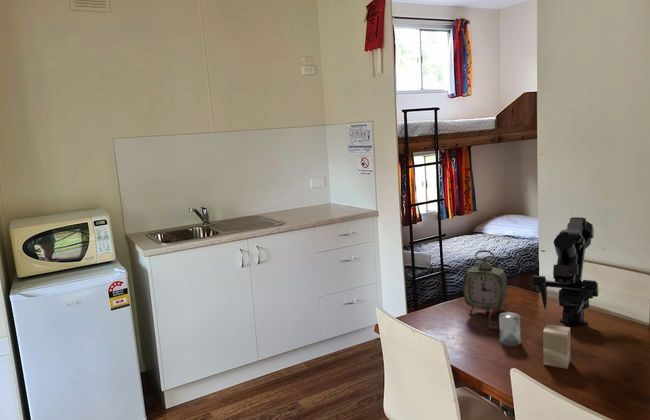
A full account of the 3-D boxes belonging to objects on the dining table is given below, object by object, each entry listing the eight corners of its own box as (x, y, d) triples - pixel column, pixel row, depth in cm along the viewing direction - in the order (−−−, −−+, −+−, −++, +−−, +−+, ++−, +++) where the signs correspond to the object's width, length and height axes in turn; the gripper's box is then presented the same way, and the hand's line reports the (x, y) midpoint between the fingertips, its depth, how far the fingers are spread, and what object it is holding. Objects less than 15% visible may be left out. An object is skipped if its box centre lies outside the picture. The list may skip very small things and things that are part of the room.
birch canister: (547, 356, 151) (546, 324, 150) (570, 360, 148) (570, 327, 146) (543, 364, 147) (543, 331, 145) (567, 368, 143) (567, 334, 141)
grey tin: (511, 336, 167) (510, 311, 166) (524, 343, 161) (524, 317, 160) (495, 340, 165) (495, 314, 164) (508, 347, 159) (508, 321, 158)
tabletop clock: (464, 315, 189) (461, 251, 185) (470, 307, 196) (468, 246, 192) (503, 320, 181) (502, 254, 177) (508, 311, 189) (507, 248, 185)
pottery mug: (524, 334, 169) (514, 317, 167) (498, 345, 172) (488, 328, 169) (513, 313, 180) (504, 297, 178) (489, 324, 183) (479, 308, 180)
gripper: (531, 251, 159) (524, 295, 151) (597, 255, 148) (593, 302, 141) (537, 268, 166) (530, 310, 159) (600, 273, 156) (596, 319, 148)
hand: (560, 310), depth 152 cm, fingers open, 9 cm apart
